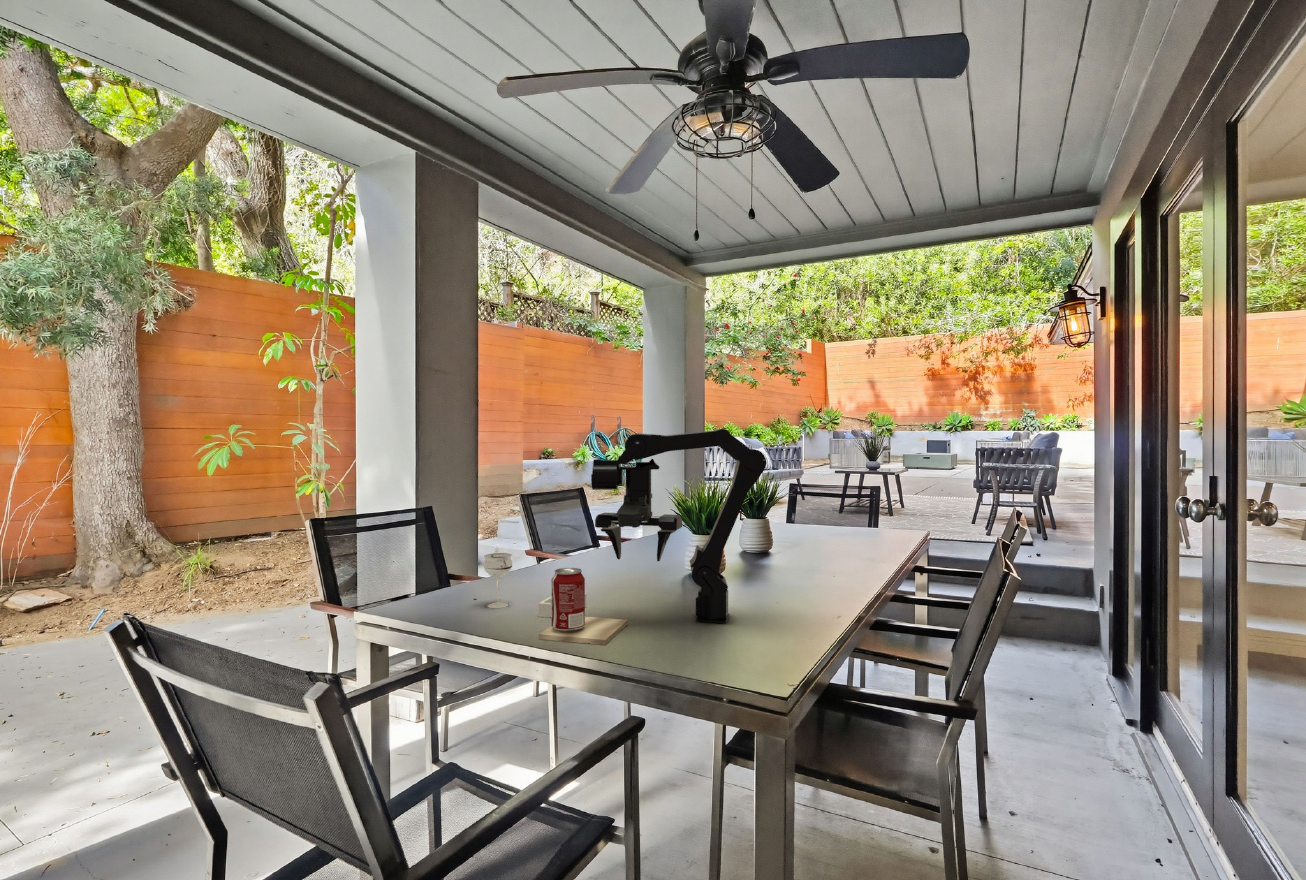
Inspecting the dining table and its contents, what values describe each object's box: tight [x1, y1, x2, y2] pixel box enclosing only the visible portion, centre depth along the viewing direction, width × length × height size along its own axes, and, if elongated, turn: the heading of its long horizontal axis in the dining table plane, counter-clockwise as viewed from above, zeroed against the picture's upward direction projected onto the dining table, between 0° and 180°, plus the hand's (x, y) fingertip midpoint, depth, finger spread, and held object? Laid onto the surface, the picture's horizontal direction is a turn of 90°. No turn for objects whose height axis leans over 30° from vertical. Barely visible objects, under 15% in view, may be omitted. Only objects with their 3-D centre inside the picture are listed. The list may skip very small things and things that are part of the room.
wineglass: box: [483, 552, 513, 609], centre depth 152 cm, size 7×7×12 cm
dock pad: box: [538, 616, 629, 646], centre depth 131 cm, size 14×14×1 cm
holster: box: [537, 593, 587, 619], centre depth 146 cm, size 7×11×3 cm
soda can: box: [550, 567, 586, 632], centre depth 129 cm, size 7×7×12 cm
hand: (638, 560), depth 140 cm, fingers open, 9 cm apart
